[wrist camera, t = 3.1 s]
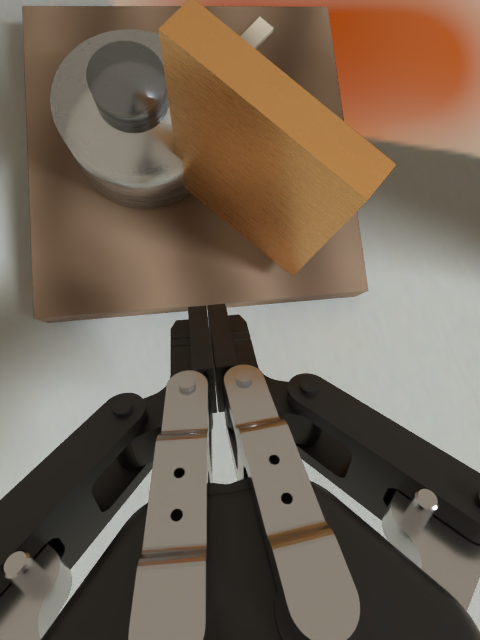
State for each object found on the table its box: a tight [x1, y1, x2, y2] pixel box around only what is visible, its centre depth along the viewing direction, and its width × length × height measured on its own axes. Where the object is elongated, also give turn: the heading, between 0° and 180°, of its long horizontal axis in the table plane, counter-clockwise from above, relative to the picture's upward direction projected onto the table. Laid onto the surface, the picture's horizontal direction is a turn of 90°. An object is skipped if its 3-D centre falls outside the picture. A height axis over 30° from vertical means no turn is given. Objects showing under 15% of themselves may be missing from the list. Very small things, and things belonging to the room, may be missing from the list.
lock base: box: [22, 6, 368, 323], centre depth 24 cm, size 20×20×2 cm
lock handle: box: [50, 0, 397, 277], centre depth 17 cm, size 16×8×11 cm, turn 51°
